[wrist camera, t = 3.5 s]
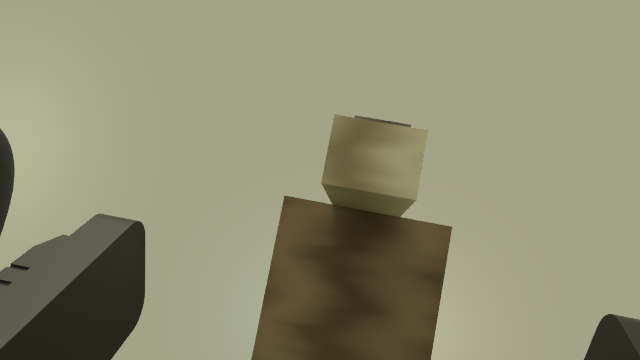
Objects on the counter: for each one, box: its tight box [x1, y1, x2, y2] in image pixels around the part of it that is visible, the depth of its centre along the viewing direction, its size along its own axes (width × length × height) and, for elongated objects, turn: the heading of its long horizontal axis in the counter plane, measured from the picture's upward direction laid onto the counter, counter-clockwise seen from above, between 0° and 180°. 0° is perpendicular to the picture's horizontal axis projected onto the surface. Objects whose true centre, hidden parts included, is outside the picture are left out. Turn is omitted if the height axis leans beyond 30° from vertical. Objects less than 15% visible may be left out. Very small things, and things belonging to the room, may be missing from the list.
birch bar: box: [321, 115, 428, 217], centre depth 33 cm, size 4×20×7 cm, turn 175°
